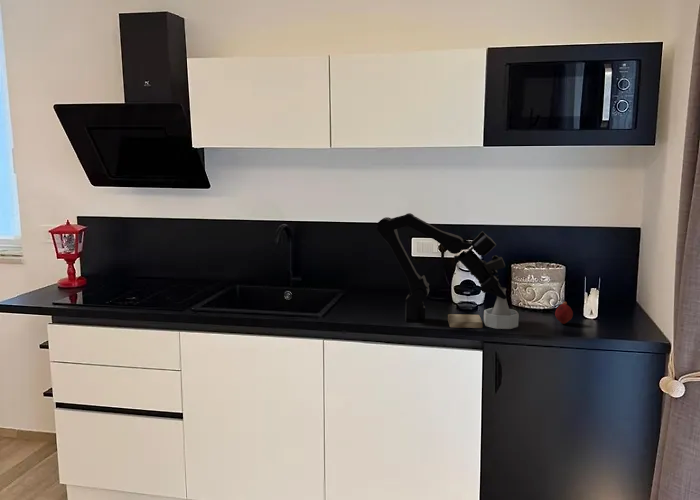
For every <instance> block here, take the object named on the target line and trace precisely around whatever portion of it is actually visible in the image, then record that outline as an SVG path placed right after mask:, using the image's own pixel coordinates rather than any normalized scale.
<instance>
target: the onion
mask: <svg viewBox="0 0 700 500" xmlns="http://www.w3.org/2000/svg"><path fill="white" fill-rule="evenodd" d="M554 315H555V319H556V320H557V321H559V322H560V323H561V325H562V324H563V325H565V324H567V323H568V322H570V321H571V320H572V318H573V316H574V311H573V310H572V308H571V306H569V305H568V303H567V301H564V302H562V303H561V304H559V306H558V307H557V308H556V309H555V312H554Z"/></svg>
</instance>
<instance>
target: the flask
mask: <svg viewBox="0 0 700 500" xmlns="http://www.w3.org/2000/svg"><path fill="white" fill-rule="evenodd" d="M501 289H502V291H503V292H504V294H505V293H506V291H507V288H506V287H502V288H501ZM492 308H493V310H492V313H491V314H493V315H497V316H510V315H511V312H510V309H511V308H510V307H509V305H508V301H507V298H506V299H502V298H500V297H498V296H496V299H495V302H494V306H493V307H492Z"/></svg>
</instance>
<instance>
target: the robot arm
mask: <svg viewBox="0 0 700 500" xmlns="http://www.w3.org/2000/svg"><path fill="white" fill-rule="evenodd" d="M407 226H408V227H410V228H412V229H413V230H415V231H416V232H417V231H418V232H420V233H421V234H423V235H425V236H427V237H429V238H430V239H432V240H434V241H436V242H437V243H439V245H441V247H443V248H444V249H445V250H446V251H448V252H449V253H451V254H453V255H454V256H453V259H454V262H453V264H454V265H457V264H458V263H459V262H460V263H461V264H462V265H463V266H464V267H465V268H466V269H467V270H468V271H469V272H470V273H469V274H470V275H471V276H474V278H475V279H477V282H478V284H479V285H480V286H479V287H480V288H479V289H480V291H481V292H482V293H483V294H486V293H489V294H491V295H493V296H495V297H497V296H498V297H500V298H502V299H506V300H507V293H506V292H505V294H504V292H503V291H502V289H501V288H503V287H502V286H501V284H500V282H499V279H500V278H499V274H498V270H500V269H505V268H506V263H505V261H504V259H503V257H502V256H498V255H493V256H492V257H491V260H489V261H488V262H487V261H486V260H483V259H481V258H480V256H484V257H485V256H486V255H487V254H489V253H490V252H491V251H492V250H493V249H494V248H495V247H496V246H497V243H496V242H495V241H494V240H493V239H492V237H490V236H489V235H487V233H485V232H484V231H483V230H482V231H481V232H480V233H479V234H478V235H477V236H476V237H475V238H474V239H473V240H470V239H464V238H462V237H461V236H460V235H457V234H454V233H451V232H447V231H445V230H444V231H443V230H441V229H439V228H438V227H436V226H433V225H432V224H430V223H428V222H426V221H425V220H422V219H421V218H419V217H418V216H415V215H414V214H412V213H406V214H404V215H400V216H395V217H392V218H391V217H388V216H387V217H383V218H382V219H380V220H378V222H377V223H376V231H377V233H378V234H379V235H380V236H381V238H382V239H383V240H384V241H385V242H386V244H388V245H389V247H390V249H391V251H392V253H393V255H394V256H395V259H396V261H397V262H398V264H399V266H400V268H401V270H402V271H403V274H404V275H405V277H406V279H407V283H408V284H407V285H408V286H409V287H408V288H409V291H410V292H409V293H408V294H407V296H406V298H405V300H404V301H405V317H404V318H405V322H407V323H408V322H410V323H411V322H412V323H413V322H414V323H415V322H416V323H417V322H418V323H424V322H425V319H426V306H425V305H424V301H425V300H426V299H427V298H428V296H429V292H430V287H429V286H430V283H429V282H428V281H427V278H426V276H425V275H424V274H423V275H422V276H421V275H420V274H419V273H418V272H417V270H416V268H415V266H414V265H413V262H412V260H411V259H410V256H409V255H408V253H407V251H406V250H405V247H404V245H403V243H402V241H401V239H400V237H399V232H398V229H401V228H404V227H407ZM465 250H466V251H465ZM457 254H458V255H457ZM495 274H497V275H495Z"/></svg>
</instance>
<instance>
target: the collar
mask: <svg viewBox="0 0 700 500" xmlns="http://www.w3.org/2000/svg"><path fill="white" fill-rule="evenodd" d="M493 308H494V307H491V308H490V307H489V308H487V309H484V310H483V323H484V326H485V327H489V328H493V329H496V330H501V329H502V330H511V329H515V328H518V327H519V317H520V316H519V312H518V311H517V310H516V309H512V308H509V309H510V312H511V315H510V316H497V315H493V314H491V313H492V310H493Z"/></svg>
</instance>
